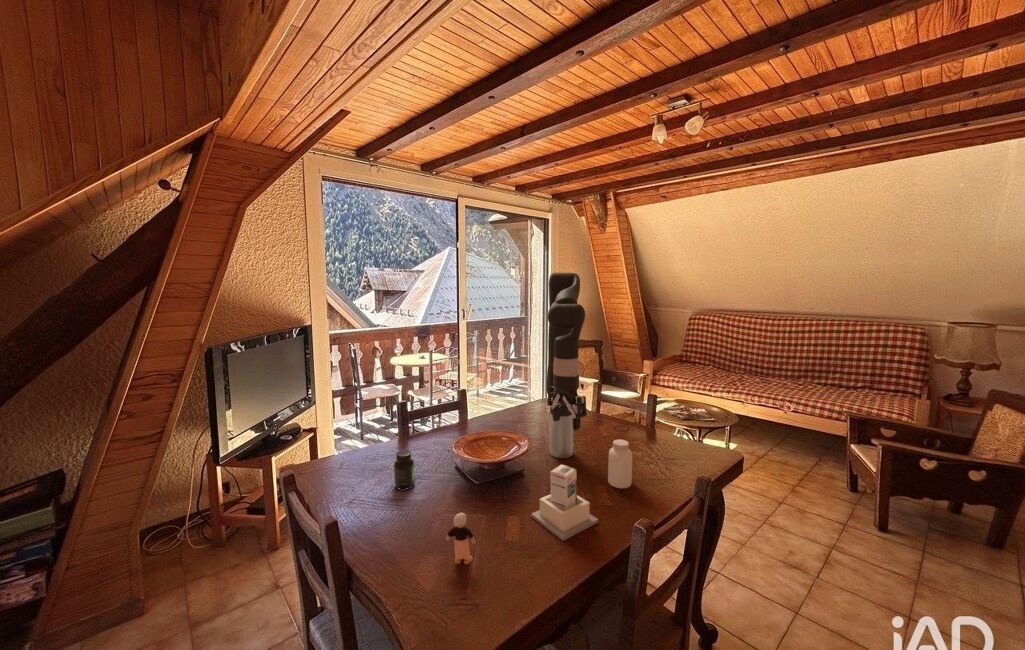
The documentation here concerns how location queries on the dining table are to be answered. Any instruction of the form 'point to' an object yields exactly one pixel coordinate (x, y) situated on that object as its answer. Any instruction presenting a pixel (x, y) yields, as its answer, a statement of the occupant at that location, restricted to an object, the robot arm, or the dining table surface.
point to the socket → (564, 517)
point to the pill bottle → (620, 465)
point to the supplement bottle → (404, 470)
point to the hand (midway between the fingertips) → (566, 424)
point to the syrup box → (563, 487)
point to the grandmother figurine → (461, 539)
